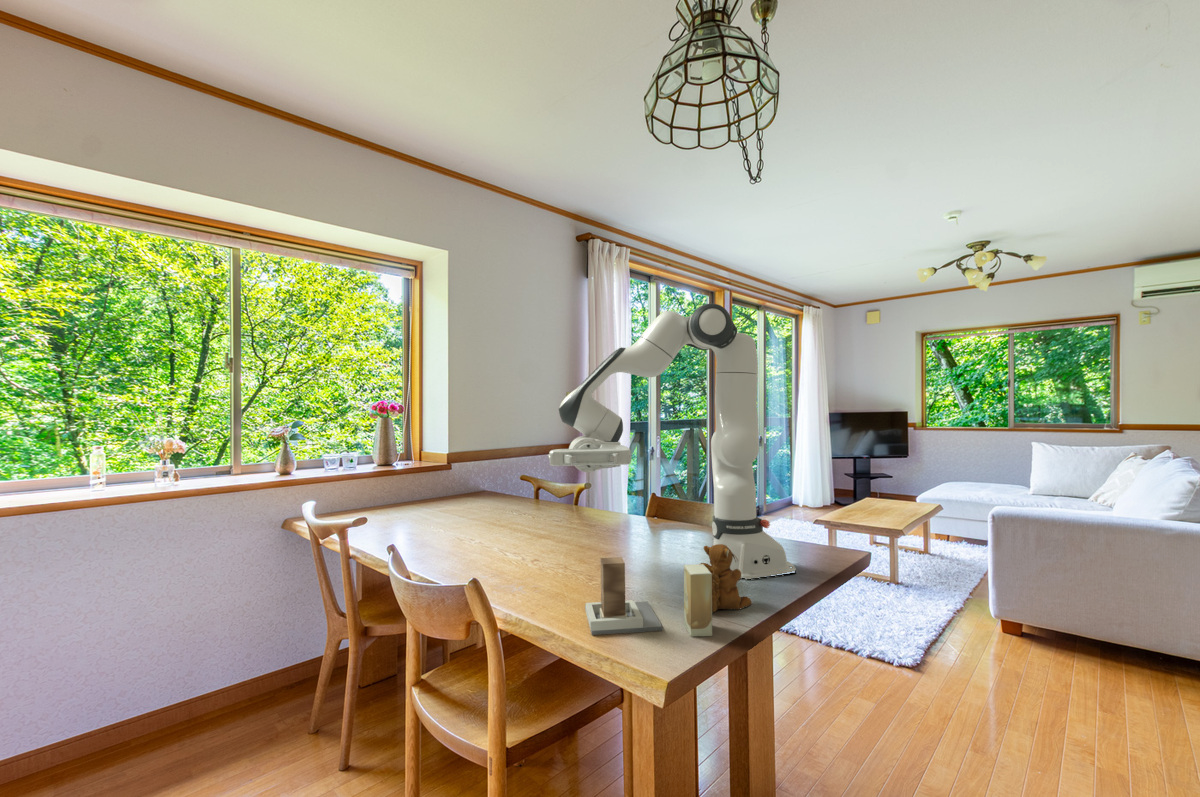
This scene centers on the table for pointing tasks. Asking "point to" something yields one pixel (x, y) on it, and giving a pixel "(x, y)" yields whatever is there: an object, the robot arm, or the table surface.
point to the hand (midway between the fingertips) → (593, 459)
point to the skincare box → (698, 600)
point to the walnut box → (612, 588)
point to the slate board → (623, 619)
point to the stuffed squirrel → (724, 579)
